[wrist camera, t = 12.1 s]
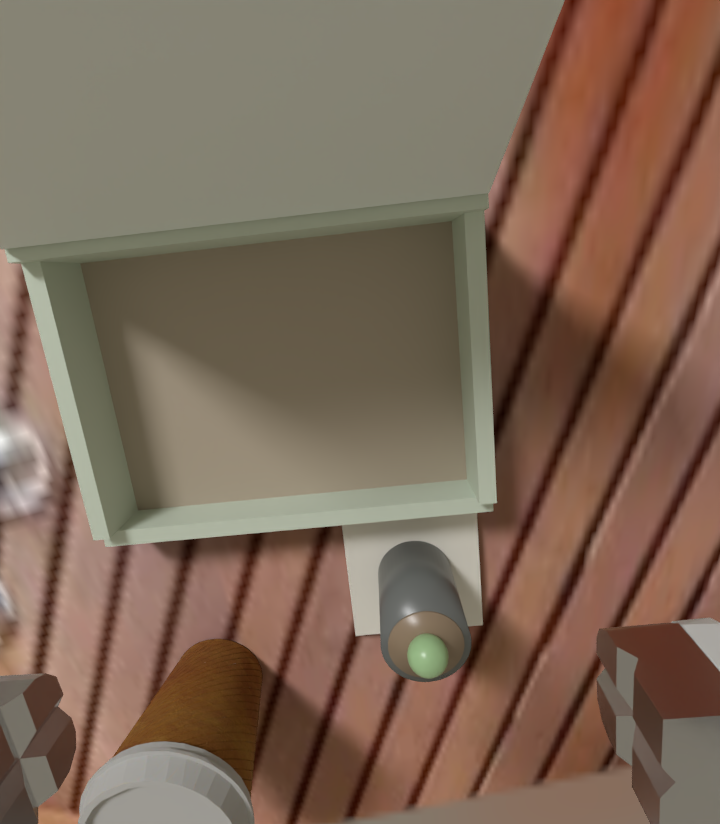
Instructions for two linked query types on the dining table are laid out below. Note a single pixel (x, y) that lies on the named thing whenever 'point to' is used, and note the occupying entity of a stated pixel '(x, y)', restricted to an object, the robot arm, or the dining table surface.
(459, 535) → the stone tile
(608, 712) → the robot arm
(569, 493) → the dining table surface
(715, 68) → the dining table surface
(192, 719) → the disposable coffee cup
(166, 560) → the dining table surface
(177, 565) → the dining table surface
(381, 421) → the pale grey-green hollow box
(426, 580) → the nursery pot
